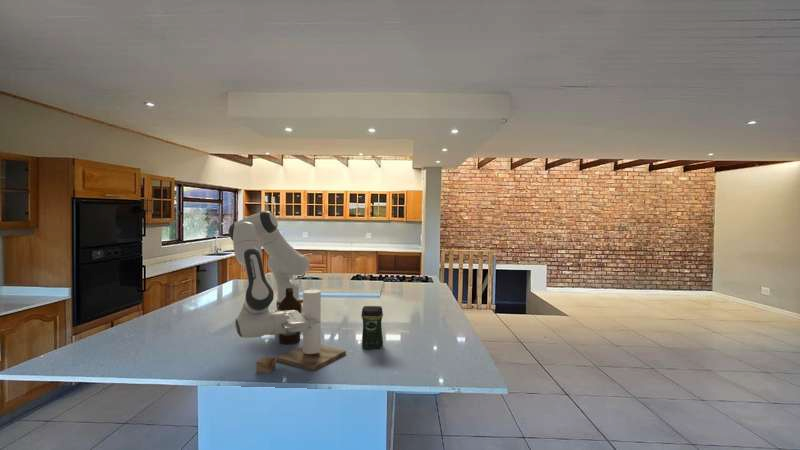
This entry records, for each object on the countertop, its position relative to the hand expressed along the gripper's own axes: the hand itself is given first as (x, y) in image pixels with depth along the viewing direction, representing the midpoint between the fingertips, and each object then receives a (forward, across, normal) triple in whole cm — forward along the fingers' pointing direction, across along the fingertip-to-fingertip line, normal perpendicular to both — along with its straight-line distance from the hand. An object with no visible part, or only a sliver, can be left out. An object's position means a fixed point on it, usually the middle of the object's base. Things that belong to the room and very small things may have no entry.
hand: (313, 318), depth 159 cm
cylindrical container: (-1, 0, +14) cm, 14 cm away
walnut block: (-20, -4, +17) cm, 26 cm away
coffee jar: (+27, 0, +17) cm, 31 cm away
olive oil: (-5, +25, +17) cm, 30 cm away
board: (-1, 0, +16) cm, 16 cm away
